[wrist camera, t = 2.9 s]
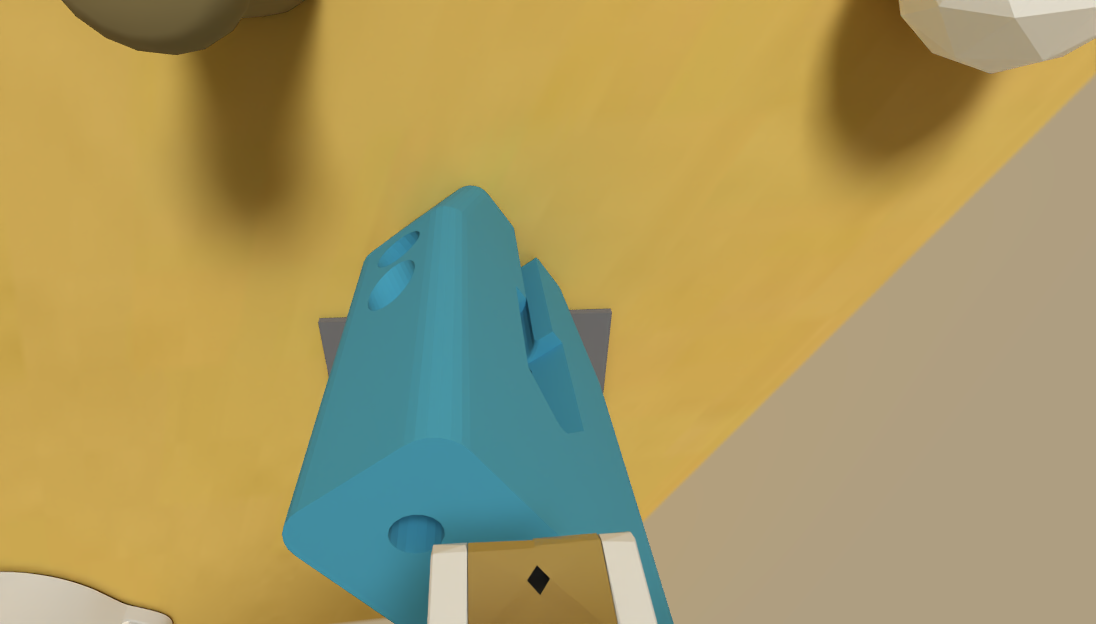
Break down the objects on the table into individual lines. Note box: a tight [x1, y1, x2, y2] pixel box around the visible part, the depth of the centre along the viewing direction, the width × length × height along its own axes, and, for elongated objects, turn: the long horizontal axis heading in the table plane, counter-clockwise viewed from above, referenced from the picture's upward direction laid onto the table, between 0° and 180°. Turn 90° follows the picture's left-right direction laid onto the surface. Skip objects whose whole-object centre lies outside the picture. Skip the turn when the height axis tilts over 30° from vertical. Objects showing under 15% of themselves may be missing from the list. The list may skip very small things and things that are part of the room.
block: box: [282, 186, 673, 624], centre depth 25 cm, size 12×5×20 cm, turn 33°
